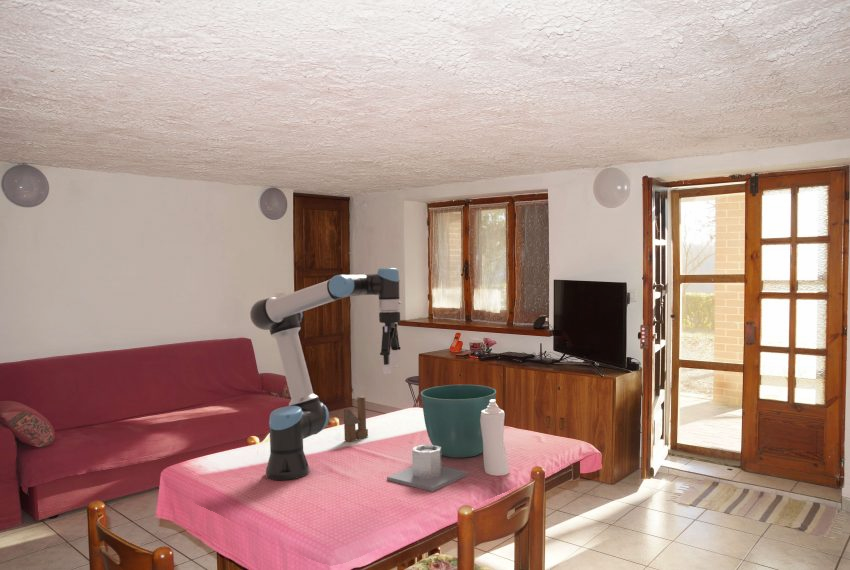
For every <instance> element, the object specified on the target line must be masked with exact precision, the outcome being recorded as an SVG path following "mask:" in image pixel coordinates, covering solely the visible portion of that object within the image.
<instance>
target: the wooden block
mask: <svg viewBox="0 0 850 570" xmlns="http://www.w3.org/2000/svg"><path fill="white" fill-rule="evenodd" d="M356 400H357V401H356V403H357V404H356V405H357V409H356V410H357V416H356V415H355V413H353V411H351V410H350V409H349V408H343V424H344V425H343V426H344V428H343V431H344V442H348V443H351V442H355V441H356V439H357V440H361V439H366V438H368V436H369V429H368V428H367V416H366V415H367V414H366V412H367V411H366V396H365V395H359V396H357V397H356ZM356 425H357V428H356Z"/></svg>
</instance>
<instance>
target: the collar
mask: <svg viewBox="0 0 850 570" xmlns="http://www.w3.org/2000/svg"><path fill="white" fill-rule="evenodd" d="M425 449H431V450H434V451H430V452H429V451H421V450H425ZM411 452H412V454H411V455H412V457H411V459H412V467H413V476H415V477H417V478H419V479H433V478H436V477H440V476H441V474H442V466H443V461H442V455H441V447H439V446H436V445H432V444H419V445H415V446H413V448H412V450H411Z"/></svg>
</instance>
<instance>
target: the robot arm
mask: <svg viewBox="0 0 850 570" xmlns="http://www.w3.org/2000/svg"><path fill="white" fill-rule="evenodd" d="M356 296H359V297H360V296H378V311H380V312H378V320H379V323H381V324H384V325H383V326H382V327H381V328H382V335H381V345H380V346H381V349H380V350H381V351H380V353H379V354H380V356H382V374H383V375H391V374H392V369H399V368H400V366H399V365H400V364H399V361H400V360H399V351H400V350H401V347H400V341H399V340H400V339H399V333H398V323H400V322H401V312H400V309H401V305H402V302H401V301H400V273H399V269H398V268H396V267H387V268H386V267H384V268H383V267H381V268H380V267H379V268H378V269H377V273H371V274H369V273H366V274H364V273H363V274H359V273H358V274H357V273H356V274H344V273H342V274H336V275H334V276H333V277H331V278H330V279H328V280H326V281H323V282H319V283H317V284H314V285H311V286H308V287H307V286H306V287H305V288H301V289H300V290H295V291H294V292H291V293H288V294H285V295H282V296H278V297H274V296H271V297H268V298H262V299H260V300H257V301H256V302H255V303H253V305H252V307H251V309H250V312H249V314H250V320H251V322H252V324H253V325H254V326H255V327H256V328H258V329H260V330H264V331H269V333H270V336H271V338H274V339H275V340H276V343H277V344H276V345H277V349H278V352H279V356H280V357H279V358H280V360H281V363H282V368H283V372H284V376H285V380H286V384H287V387H288V393H289V396H290V402H289V403H288V405H286V406H283V407H279V408H276V409H274V410H272V411H271V412H270V415H269V421H268V427H269V447H270V448H269V449H270V451H269V452H270V454H269V458H268V462H267V466H266V469H265V477H266V478H268V479H270V480H273V481H287V480H294V479H295V480H296V479H298V478H302V477H305V476H307V474H309V472H310V470H309V468H310V466H309V464H308V460H307V457H306V455H305V452H304V439H307V438H309V437H311V436H315V435H317V434H319V433H320V432H322V431H323V430H325V428H326V427H327V425H328V423H329V419H330V415H329V414H330V413H329V409H328V407H327V406H326V404H324V403H323V402H321V401H320V398H319V395H317V394H315V393H314V391H313V387H312V383H311V379H310V375H309V370H308V367H307V362H306V360H305V356H304V352H303V349H302V348H303V347H302V343H301V340H300V336H299V332H300V330H301V329H302V328H301V324H300V323H301V322H302V319H303V316H304V315H303V312H304V311H305V312H306V311H308V310H311V309H314V308H316V307H319V306H323V305H326V304H328V303H332V302H335V301H338V300H341V299H344V298H347V297H356Z"/></svg>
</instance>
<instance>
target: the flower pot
mask: <svg viewBox="0 0 850 570" xmlns="http://www.w3.org/2000/svg"><path fill="white" fill-rule="evenodd" d="M420 397H421V405H422V412H423V418H424V419H423V420H424V424H425V430H426V432H427V436H428V439H429V441H430V443H431V445H436V446H439V447H441V456H444V457H447V458H456V459H457V458H458V459H459V458H460V459H461V458H469V457H470V458H472V457H475V456H478V455H481V454H483V438H482V431H481V423H480V417H481V413H482V412H481V411H482V410H485V409H486V408H487V406H489V404H490V400H492V399H495V400H496V398H497V390H496V389H495V388H493V387H489V386H485V385H478V384H477V385H476V384H448V385H440V386H434V387H428V388H426V389H424V390H422V391H421V392H420ZM496 401H497V400H496Z"/></svg>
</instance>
